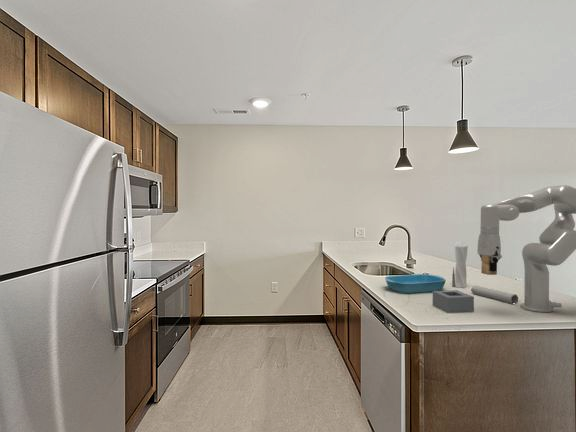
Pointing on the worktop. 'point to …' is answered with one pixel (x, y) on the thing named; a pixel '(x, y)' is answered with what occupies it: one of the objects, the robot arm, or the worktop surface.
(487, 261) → the peg
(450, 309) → the socket
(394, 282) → the casserole dish
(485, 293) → the tube
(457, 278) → the skyscraper
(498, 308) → the worktop surface
